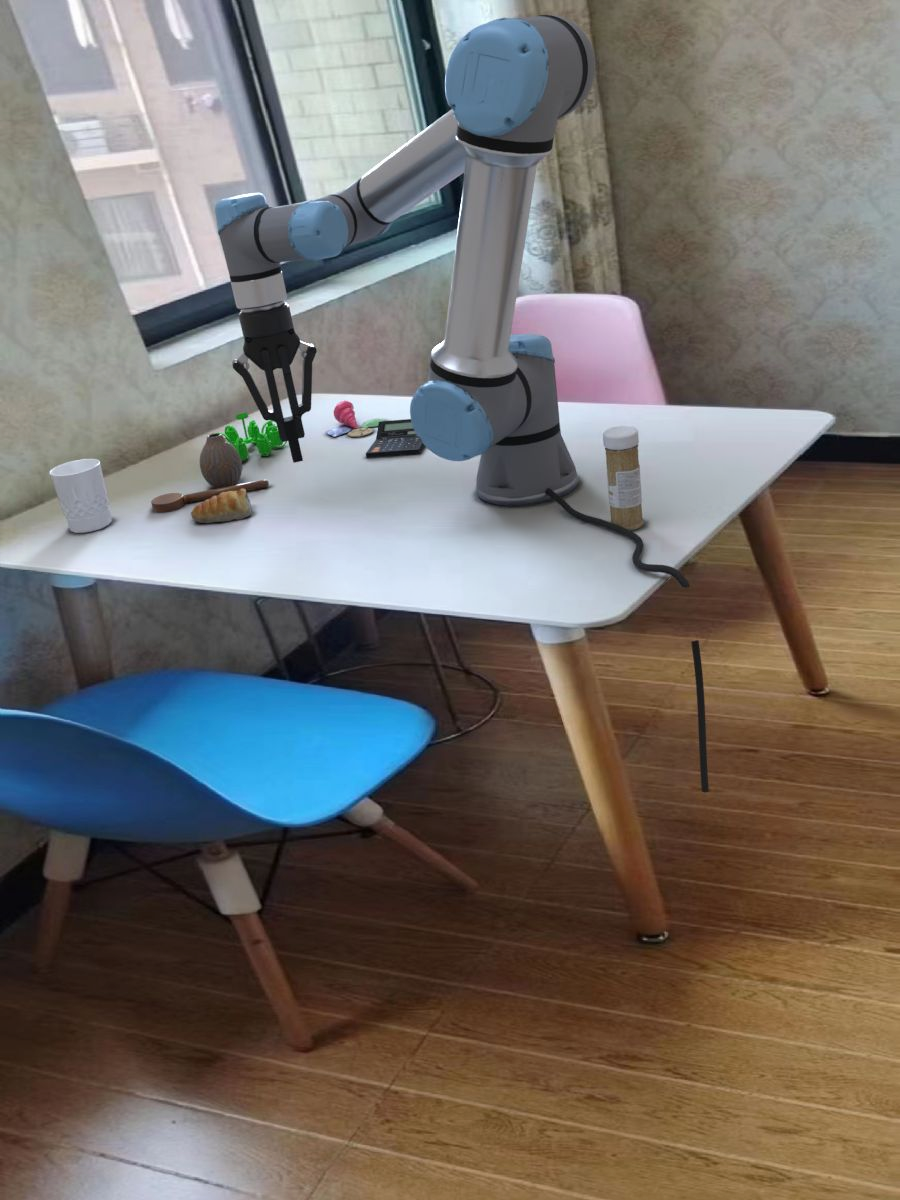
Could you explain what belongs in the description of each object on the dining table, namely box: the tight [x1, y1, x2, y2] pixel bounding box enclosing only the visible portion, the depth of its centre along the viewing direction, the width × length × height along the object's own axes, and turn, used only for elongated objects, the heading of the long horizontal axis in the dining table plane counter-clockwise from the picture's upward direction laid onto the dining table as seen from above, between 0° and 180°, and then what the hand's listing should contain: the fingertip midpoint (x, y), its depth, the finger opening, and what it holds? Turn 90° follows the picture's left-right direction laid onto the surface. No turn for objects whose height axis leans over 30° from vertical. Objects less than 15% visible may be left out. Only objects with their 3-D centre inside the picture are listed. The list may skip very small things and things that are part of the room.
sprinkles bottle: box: [602, 425, 645, 531], centre depth 152 cm, size 5×5×14 cm
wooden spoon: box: [150, 479, 270, 513], centre depth 190 cm, size 19×5×1 cm, turn 103°
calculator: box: [365, 418, 426, 459], centre depth 202 cm, size 9×12×3 cm
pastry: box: [190, 488, 252, 524], centre depth 180 cm, size 9×7×4 cm
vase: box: [199, 432, 243, 489], centre depth 194 cm, size 7×7×9 cm
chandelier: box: [215, 412, 288, 463], centre depth 210 cm, size 15×15×7 cm
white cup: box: [48, 458, 113, 534], centre depth 184 cm, size 8×8×10 cm
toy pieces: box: [326, 400, 387, 438], centre depth 215 cm, size 12×11×4 cm
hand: (297, 459), depth 178 cm, fingers closed
